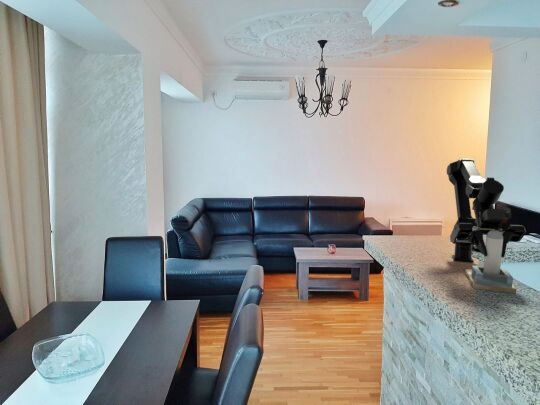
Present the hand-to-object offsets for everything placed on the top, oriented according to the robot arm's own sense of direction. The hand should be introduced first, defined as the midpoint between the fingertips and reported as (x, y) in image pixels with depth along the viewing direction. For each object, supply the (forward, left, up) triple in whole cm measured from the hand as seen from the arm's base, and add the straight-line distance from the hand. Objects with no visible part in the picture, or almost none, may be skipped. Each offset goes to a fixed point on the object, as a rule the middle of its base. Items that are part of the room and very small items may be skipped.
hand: (494, 256), depth 117 cm
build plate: (-48, +3, -10) cm, 50 cm away
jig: (-4, 0, -9) cm, 10 cm away
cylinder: (-1, 0, -7) cm, 7 cm away
